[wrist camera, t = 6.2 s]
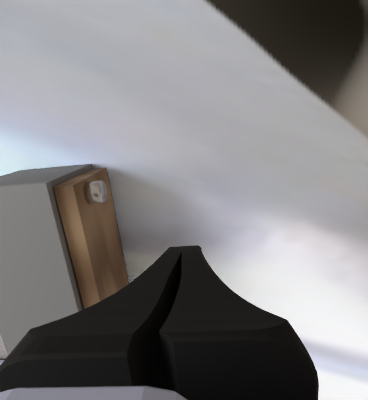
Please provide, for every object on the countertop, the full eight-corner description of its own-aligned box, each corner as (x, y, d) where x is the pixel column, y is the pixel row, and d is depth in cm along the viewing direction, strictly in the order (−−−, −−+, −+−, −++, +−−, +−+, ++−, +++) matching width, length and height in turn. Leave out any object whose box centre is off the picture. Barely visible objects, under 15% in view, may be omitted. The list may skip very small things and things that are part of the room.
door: (145, 319, 21) (129, 374, 16) (123, 319, 21) (101, 374, 17) (118, 166, 18) (88, 183, 13) (91, 169, 18) (53, 187, 13)
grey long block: (121, 315, 21) (94, 378, 16) (60, 317, 22) (16, 378, 17) (91, 163, 18) (45, 182, 13) (20, 170, 18) (-51, 191, 13)
